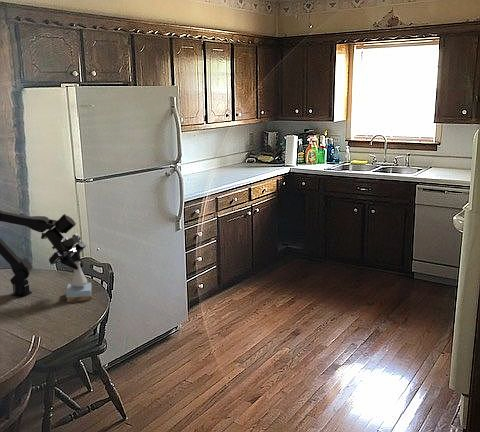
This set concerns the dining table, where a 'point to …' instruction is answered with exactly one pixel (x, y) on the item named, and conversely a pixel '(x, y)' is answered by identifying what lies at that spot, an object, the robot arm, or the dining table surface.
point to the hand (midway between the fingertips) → (79, 268)
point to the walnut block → (78, 298)
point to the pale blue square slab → (78, 290)
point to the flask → (78, 276)
